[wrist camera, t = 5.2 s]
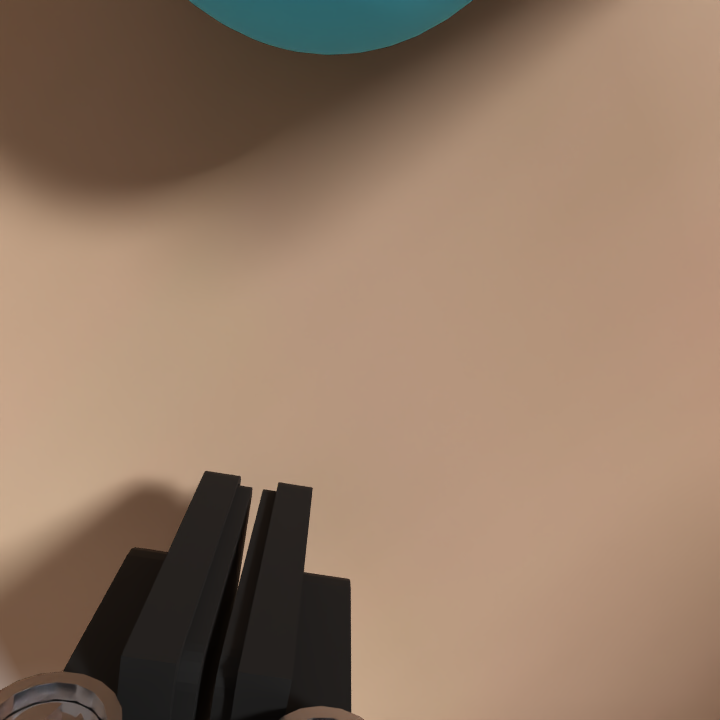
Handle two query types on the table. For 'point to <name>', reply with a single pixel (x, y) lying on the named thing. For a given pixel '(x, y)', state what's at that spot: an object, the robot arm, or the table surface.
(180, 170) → the table surface
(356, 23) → the ball
